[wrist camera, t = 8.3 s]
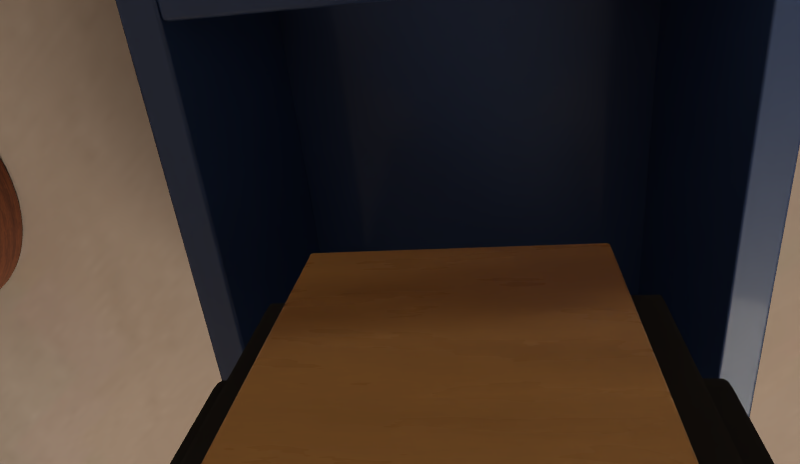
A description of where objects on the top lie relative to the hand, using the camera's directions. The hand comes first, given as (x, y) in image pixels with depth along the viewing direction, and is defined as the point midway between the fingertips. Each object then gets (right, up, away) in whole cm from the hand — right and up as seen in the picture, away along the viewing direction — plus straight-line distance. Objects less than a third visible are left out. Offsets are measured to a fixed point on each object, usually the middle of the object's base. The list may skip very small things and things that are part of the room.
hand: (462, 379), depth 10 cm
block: (0, 0, 0) cm, 0 cm away
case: (+1, +4, +10) cm, 11 cm away
